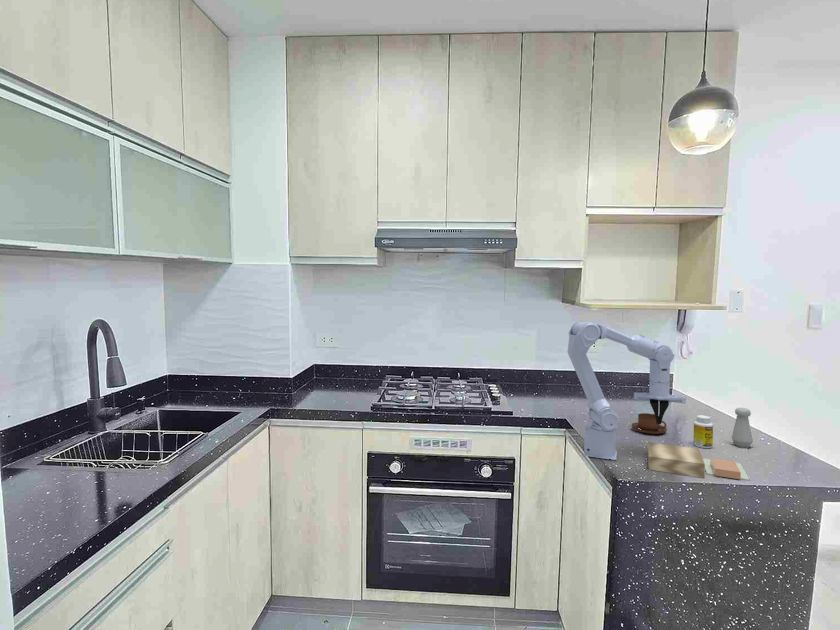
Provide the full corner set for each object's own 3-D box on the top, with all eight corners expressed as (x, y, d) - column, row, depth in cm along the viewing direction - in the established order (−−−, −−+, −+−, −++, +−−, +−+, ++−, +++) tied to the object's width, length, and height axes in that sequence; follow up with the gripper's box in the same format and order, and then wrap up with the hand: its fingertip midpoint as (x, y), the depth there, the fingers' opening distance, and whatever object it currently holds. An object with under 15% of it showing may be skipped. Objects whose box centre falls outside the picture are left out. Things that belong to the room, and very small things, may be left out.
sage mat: (706, 474, 126) (706, 473, 126) (701, 459, 138) (701, 458, 138) (749, 480, 122) (749, 479, 122) (740, 464, 133) (740, 463, 133)
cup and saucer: (667, 430, 169) (667, 414, 169) (666, 438, 159) (666, 421, 158) (632, 425, 175) (632, 410, 175) (629, 433, 165) (630, 417, 164)
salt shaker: (748, 450, 146) (749, 411, 145) (728, 445, 150) (729, 408, 150) (755, 446, 149) (756, 408, 149) (735, 442, 154) (736, 405, 153)
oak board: (648, 469, 130) (648, 456, 130) (647, 454, 142) (648, 442, 142) (704, 478, 124) (704, 464, 123) (698, 461, 136) (698, 448, 136)
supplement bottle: (705, 449, 146) (706, 419, 146) (689, 444, 151) (690, 415, 151) (716, 447, 148) (717, 417, 148) (700, 442, 154) (700, 413, 153)
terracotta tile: (740, 472, 122) (740, 479, 122) (734, 461, 130) (734, 468, 130) (714, 468, 124) (714, 475, 125) (710, 458, 132) (710, 464, 133)
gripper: (634, 381, 141) (633, 423, 141) (686, 385, 134) (686, 429, 135) (634, 378, 147) (633, 418, 147) (684, 381, 140) (683, 423, 141)
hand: (658, 423), depth 141 cm, fingers closed
